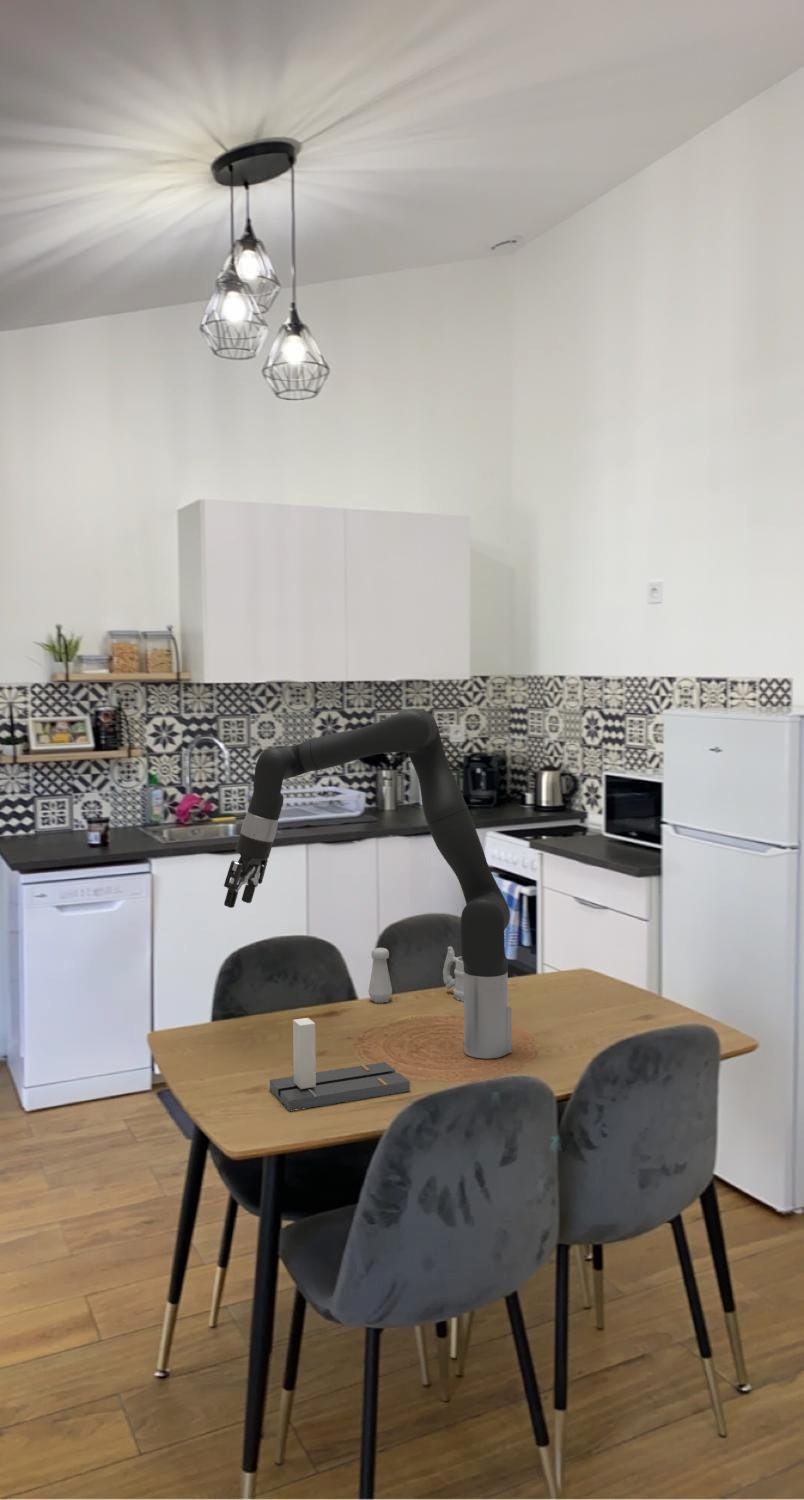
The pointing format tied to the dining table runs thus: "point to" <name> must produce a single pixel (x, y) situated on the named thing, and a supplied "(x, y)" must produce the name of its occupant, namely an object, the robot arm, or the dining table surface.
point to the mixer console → (341, 1086)
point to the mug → (458, 973)
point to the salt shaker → (380, 977)
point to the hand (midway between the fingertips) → (237, 904)
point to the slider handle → (304, 1053)
